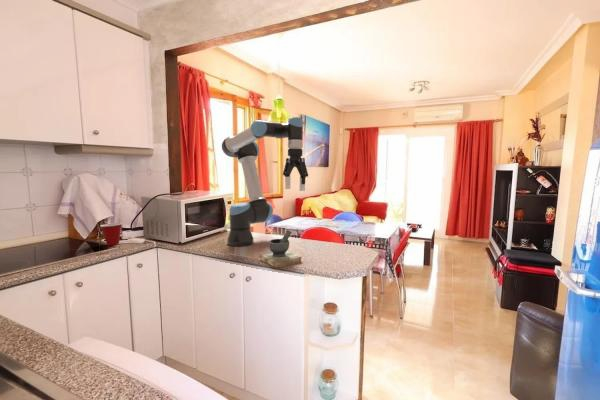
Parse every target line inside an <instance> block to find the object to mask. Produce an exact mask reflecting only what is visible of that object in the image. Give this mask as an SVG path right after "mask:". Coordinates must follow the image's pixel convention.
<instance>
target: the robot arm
mask: <svg viewBox="0 0 600 400" xmlns="http://www.w3.org/2000/svg"><path fill="white" fill-rule="evenodd" d="M303 122H304V121H303V118H301V117H299V116H297V117H296V116H295V117H294V116H293V117H289V118H287V122H285V123H281V122H274V121H273V122H272V121H266V120H263V119H262V120H261V119H259V120H253V121H252V123H251V125H250V127H247V128H246V129H244V130H242V131H241V132H239V133H237V134H235V135H234V136H233V135H230V136H229V135H228V136H227V137H226V138H224V139H223V141H222V142H221V150H222V151H223V153H224V154H225V155H226V156H227V157H229V158H230V157H231V158H237V159H238V160H237V162H238V163H240V164H241V168H242V172H243V175H244V180H245V185H246V189H247V190H246V191H247V194H248V202H247V201H246V202H236V203H233V204H231V205H230V207H229V212H228V213H229V233H228V236H227V243H226V244H227V245H228V246H231V247H244V246H245V247H246V246H250V245H253V244H254V236H253V232H252V230H251V225H252V224H253V225H254V224H260V223H267V222H269V221H270V220H271V219H272V216H273V213H274V212H273V210H274V209H273V206H272V204H271V203H270V202H267V201H268V200H267V198H266V197H264V194H263V191H262V186H261V181H260V177H259V172H258V168H257V163H256V160H257V159H258V156H259V152H260V148H259V145H258V143H257V142H256V141H258V140H260V139H263V138H265V137H267V138H275V139H282V140H283V139H285V138H286V139H287V148H288V149H287V157H286V159H285V164H284V168H283V172H282V176H284V178H285V179H284V182H285V187H284V188H285V190H290V189H291V173H292V172H293V169H295V168H296V171H297V172H298V174H299V192H304V191H305V190H306V187H305V186H306V178H308V177H309V173H308V169H307V166H306V161H305V160H306V159H305V157H303V147H304V144H303V143H304V140H303V138H304V137H303V136H304V135H303V133H304V131H303V130H304V123H303Z"/></svg>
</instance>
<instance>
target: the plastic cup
mask: <svg viewBox="0 0 600 400" xmlns="http://www.w3.org/2000/svg"><path fill="white" fill-rule="evenodd" d="M99 226H100V228H101V230H102V233H103V236H104V240H105V243H106V246H109V247H110V246H117V245H119V243H120V239H121V233H122V226H123V222H114V223H113V222H112V223H106V224H101V225H99Z"/></svg>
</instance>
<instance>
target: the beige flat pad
mask: <svg viewBox="0 0 600 400" xmlns="http://www.w3.org/2000/svg"><path fill="white" fill-rule="evenodd" d="M259 257H260V261H262V262H264V263H266V264H268V265H270V266H272V267H274V268H275V269H277V268H281V267H285V266H290V265H293V264H298V263H302V256H300V255H298V254H296V253H294V252H290V251H288V250H287V251H286V252H285V256H284V257H274V256H273V252H272V251H271V252H267V253H263V254H260V256H259Z"/></svg>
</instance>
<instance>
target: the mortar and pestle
mask: <svg viewBox="0 0 600 400" xmlns="http://www.w3.org/2000/svg"><path fill="white" fill-rule="evenodd" d="M292 233H293V232H292V231H291V230H289V229H286V230H285V233H284V235H283V237H282V238H274V239H271V240H269V241H268V245H269V250H270V252H271V253H272V252H273V256H274V257H284V256H285V252H286V251H288V250H289V248H290V240H289V238H290V236H291V234H292Z"/></svg>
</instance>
